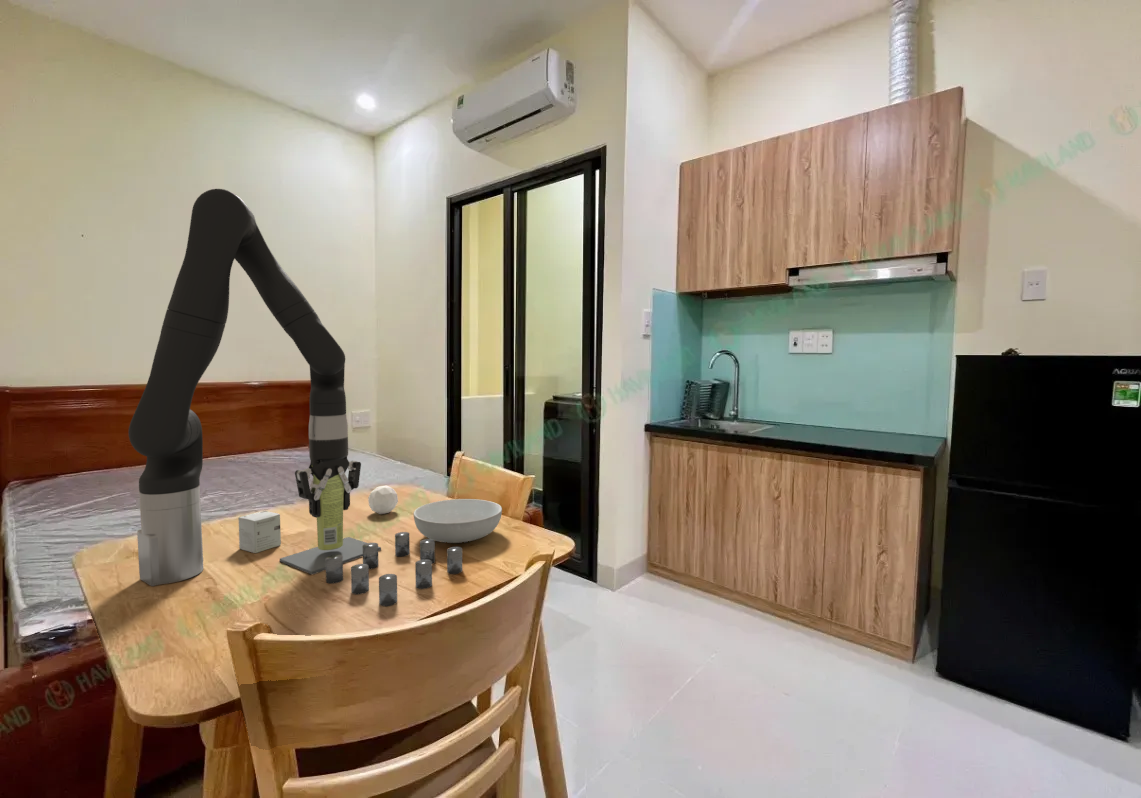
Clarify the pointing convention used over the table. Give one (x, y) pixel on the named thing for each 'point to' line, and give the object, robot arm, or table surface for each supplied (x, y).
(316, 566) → the slate mat
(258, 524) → the skincare box
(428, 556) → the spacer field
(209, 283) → the robot arm
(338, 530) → the tube
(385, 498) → the ball
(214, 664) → the table surface
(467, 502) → the serving bowl
